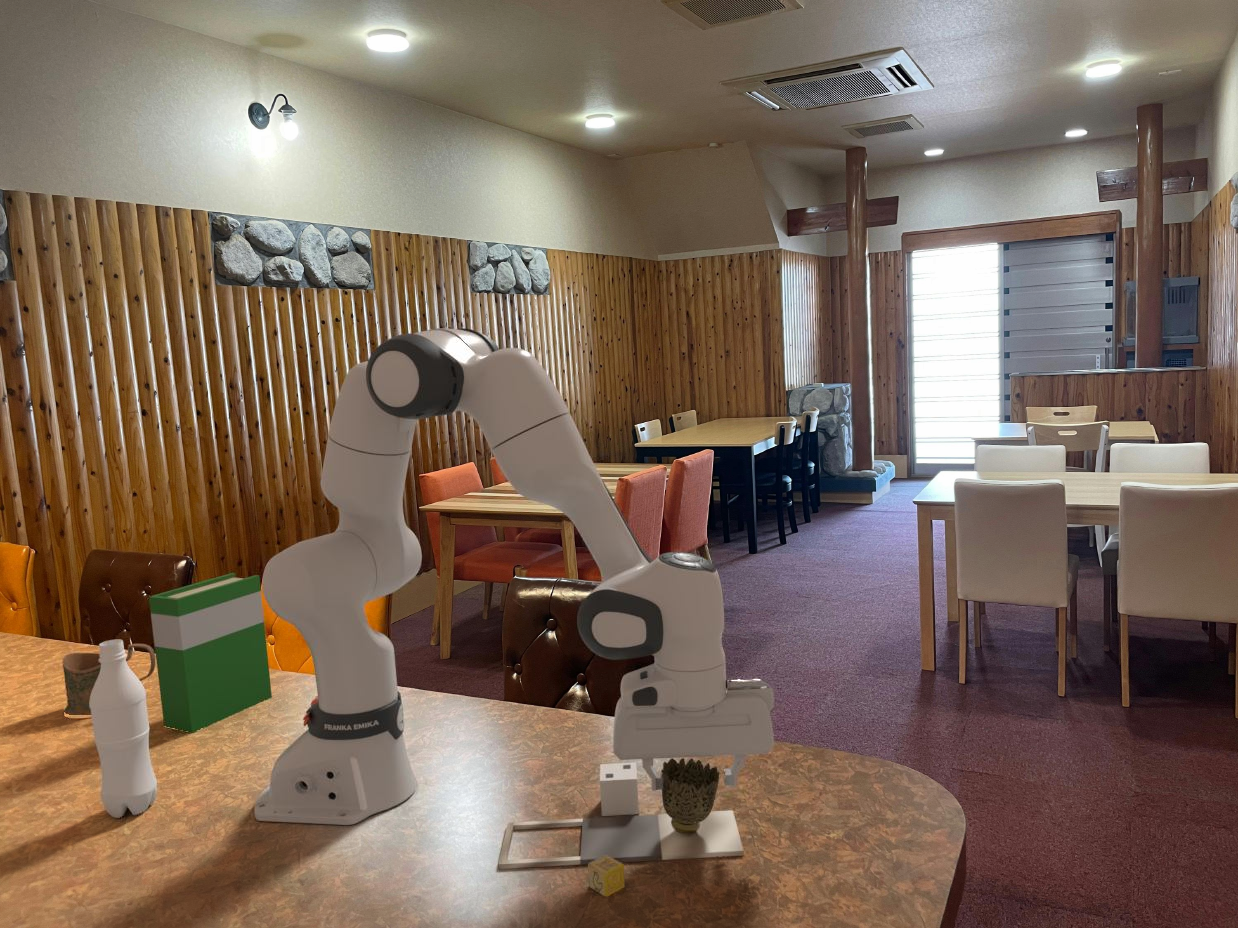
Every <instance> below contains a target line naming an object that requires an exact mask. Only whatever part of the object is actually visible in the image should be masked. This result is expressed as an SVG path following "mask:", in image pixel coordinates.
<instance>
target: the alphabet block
mask: <svg viewBox="0 0 1238 928" xmlns="http://www.w3.org/2000/svg"><path fill="white" fill-rule="evenodd" d="M587 872H588V873H587V875H588V876H587V878H588V879H587V880H588V887H589V888H591V889H592V890H594V891H595V892H597V893H599V894H600V895H602V896H603V897H605V898H607V897H609V896H611V895H613V894H615V893H617V892H618V891H620V890H622V889H624V888H625V865H624V864H623V862H618V861H617V860H615V859H613V858H612V857H610V856H608V855H604V856H602V857H600V858H598V859H596V860H594V861H592V862H590V863H588V864H587Z"/></svg>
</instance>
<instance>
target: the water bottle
mask: <svg viewBox="0 0 1238 928" xmlns="http://www.w3.org/2000/svg"><path fill="white" fill-rule="evenodd" d="M98 649H99V654H100V655H99V657H100V658H99V662H101V669H100V673H99V676H98V678H97V680H96V682H95V685H94V687H93V690H92V692H91V695H90V701H89V707H90V709H91V715H92V718H91V721H92V729H93V737H94V738H93V741H94V743H95V746H96V750H97V752H98V757H99V762H100V769H101V770H100V771H101V787H100V788H101V789H100V800H101V802H102V805H103V807H104V809H105V810H106V812H107V813H108V814H109V815H110V817H112V818H115V819H120V817H121V818H123V817H122V816H125V813H126V811H127V809H129V811H130V812H131V814H132V815H133V816H136V815H137V814H138V815H140V814H142V812H143V813H144V812H145V811H147V809H148V808H149V807H150V806H152V805H153V804H154V803H155V800H156V797H157V793H158V782H157V778H156V774H155V771H154V768H153V765H152V761H151V757H150V756H151V755H150V747H149V745H150V743H149V739H150V737H149V736H150V729H151V728H150V724H149V723H150V722H149V714H148V707H147V699H146V697H147V692H146V689H145V687H144V685H143V683H142V682H141V681H140V680H139V679H140V678H138V677H137V675H136V674H135V673H134V671H133V670H132V669H131V668H130V667H129V665H128V663H127V662H128V661H127V662H126V659H127V656H128V653H126V650H125V647H124V640H123V639H120V638H119V639H110V640H105V641H103V642H101V643H99V644H98ZM151 804H152V805H151ZM149 805H150V806H149ZM139 813H140V814H139Z"/></svg>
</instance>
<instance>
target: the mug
mask: <svg viewBox="0 0 1238 928" xmlns="http://www.w3.org/2000/svg"><path fill="white" fill-rule="evenodd" d="M134 648H141V649H142V648H143V649H145V650H147V651H148V653H149V657H150V669H149V671H148V673H147V675H145V676H142V677H141V678H138V679H139V680H140V682H141V681H144V680H145V679H147V678H149V677H150V676H151V675H152V674H153V673H154V670H155V668H156V653H155V649H153V647H151V646H150V645H148V644H145V643H131V644H128V645H127V657H126V662H128V661H130V660H131V658H132V656H133V649H134ZM99 655H100V653H97V652H72V653H68V654H65V656H63V657H62V662H61V663H62V668H63V676H64V683H65V690H66V693H65V694H66V695H65V696H66V698H67V699H66V702H67V705H66V707H65V708H64V709H65V710H63V711H64V712H65V713H66V714H69V715H91V709H90V707H89V701H90V695H91V692H92V690H93V687H94V685H95V682H96V680H97V678H98V676H99V673H100V669H101V662H99V658H100V657H99Z"/></svg>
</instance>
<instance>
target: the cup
mask: <svg viewBox="0 0 1238 928" xmlns="http://www.w3.org/2000/svg"><path fill="white" fill-rule="evenodd" d="M662 767H663V768H661V770H660V772H662V773H663V775H662V777H663V790H661V798H662V805H663V808H664V810H665V811H664V812H665V814H668V815H669V816H670V817H671V818H672V820H671V825H672V828H673V829H674V830H675V831H676V832H678V833H681V834H686V835H689V834H694V833H696V832H697V831H698V829H699V827H700V822H702V821H703V820H705V819H706V818H707V817H708V815H709V814H710V812H711V811H712V810H713V807H714V804H715V803H714V802H715V801H716V800H715V799H716V796H717V791H718V787H719V786H718V785H719V781H720V771H718V767H717V766H714V767H711V766H710V762H707V763H706V764H705V766H704V765H703V763H702V761H701V760H700V759H697V760H696V761H695V760H694V758H690V759H689V760H687V763H686V762H685V757H681V758H680V760H679V762H677V760H675V759H674V758H670V759H669V760H668V762H666V761H664V762H663V764H662Z"/></svg>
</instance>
